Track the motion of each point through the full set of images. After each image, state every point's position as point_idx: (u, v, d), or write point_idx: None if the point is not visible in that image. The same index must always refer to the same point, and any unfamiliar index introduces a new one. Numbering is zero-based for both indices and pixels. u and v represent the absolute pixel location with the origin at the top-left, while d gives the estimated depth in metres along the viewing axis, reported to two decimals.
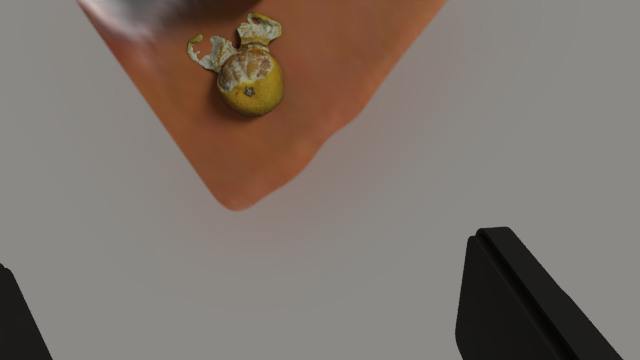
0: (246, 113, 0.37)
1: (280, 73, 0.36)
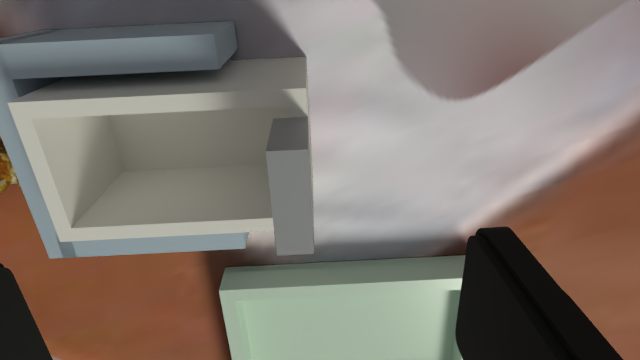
0: None
1: None
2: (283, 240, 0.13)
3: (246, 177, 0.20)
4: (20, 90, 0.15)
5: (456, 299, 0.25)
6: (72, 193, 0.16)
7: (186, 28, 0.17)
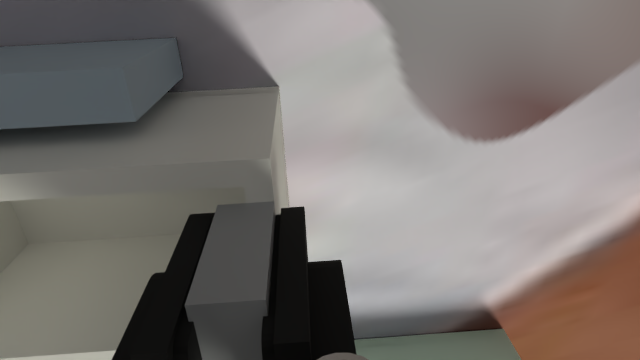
0: None
1: None
2: None
3: None
4: None
5: None
6: None
7: (95, 52, 0.11)
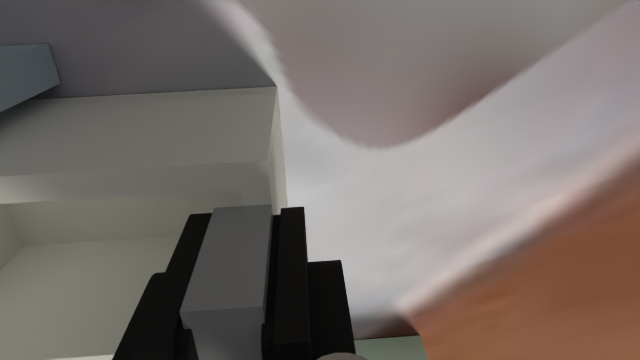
0: None
1: None
2: None
3: None
4: None
5: None
6: None
7: None
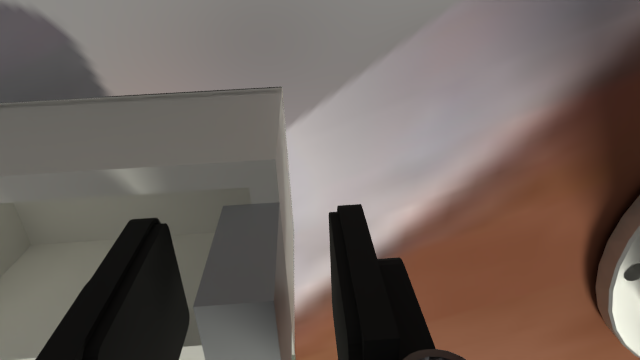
0: None
1: None
2: None
3: (200, 256, 0.14)
4: None
5: None
6: None
7: None
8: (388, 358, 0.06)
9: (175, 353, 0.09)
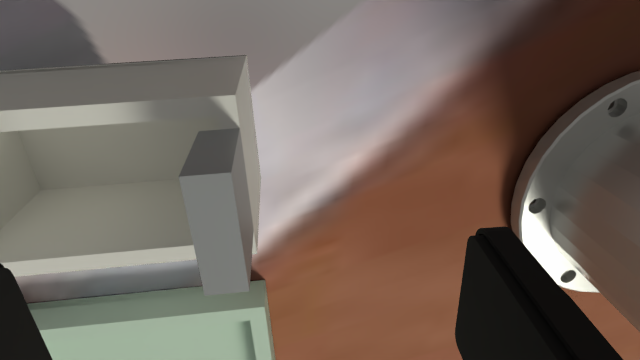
0: None
1: None
2: (211, 278, 0.11)
3: None
4: None
5: None
6: None
7: None
8: None
9: None
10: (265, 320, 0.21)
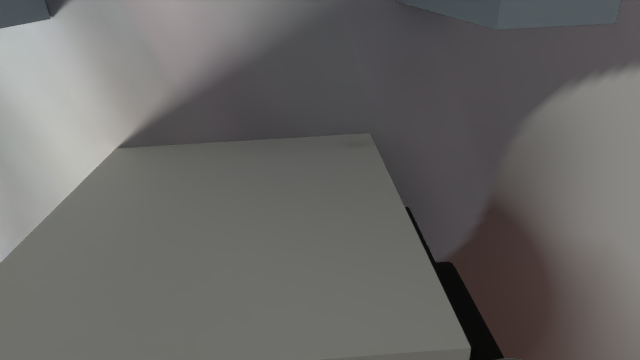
0: None
1: None
2: None
3: None
4: None
5: None
6: None
7: None
8: None
9: None
10: None
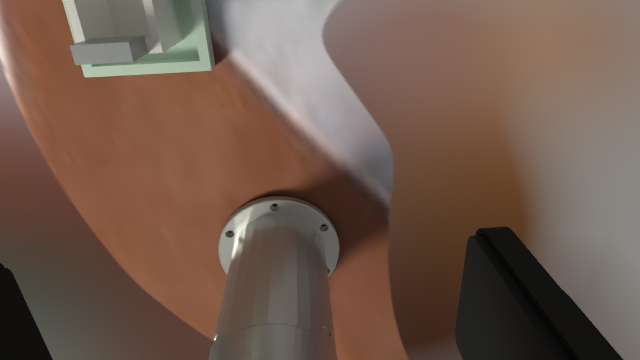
0: None
1: None
2: (80, 49, 0.26)
3: (99, 4, 0.31)
4: None
5: (177, 57, 0.35)
6: None
7: None
8: None
9: None
10: (199, 70, 0.34)
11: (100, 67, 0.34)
